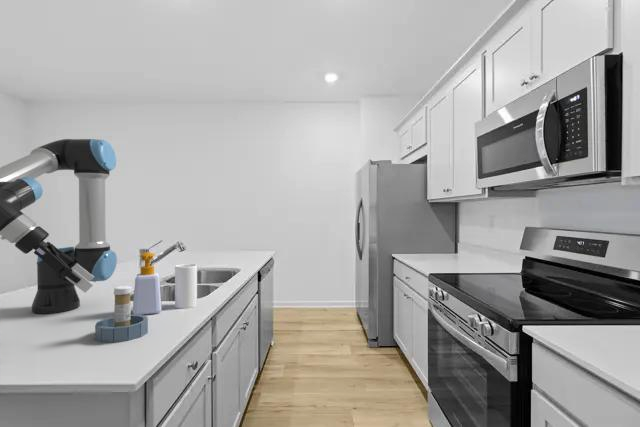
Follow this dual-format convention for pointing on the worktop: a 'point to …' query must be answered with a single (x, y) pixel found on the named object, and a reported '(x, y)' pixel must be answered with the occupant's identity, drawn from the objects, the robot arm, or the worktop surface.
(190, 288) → the cup
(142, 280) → the soap bottle
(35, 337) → the worktop surface
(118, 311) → the sprinkles bottle
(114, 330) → the bowl
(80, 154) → the robot arm
